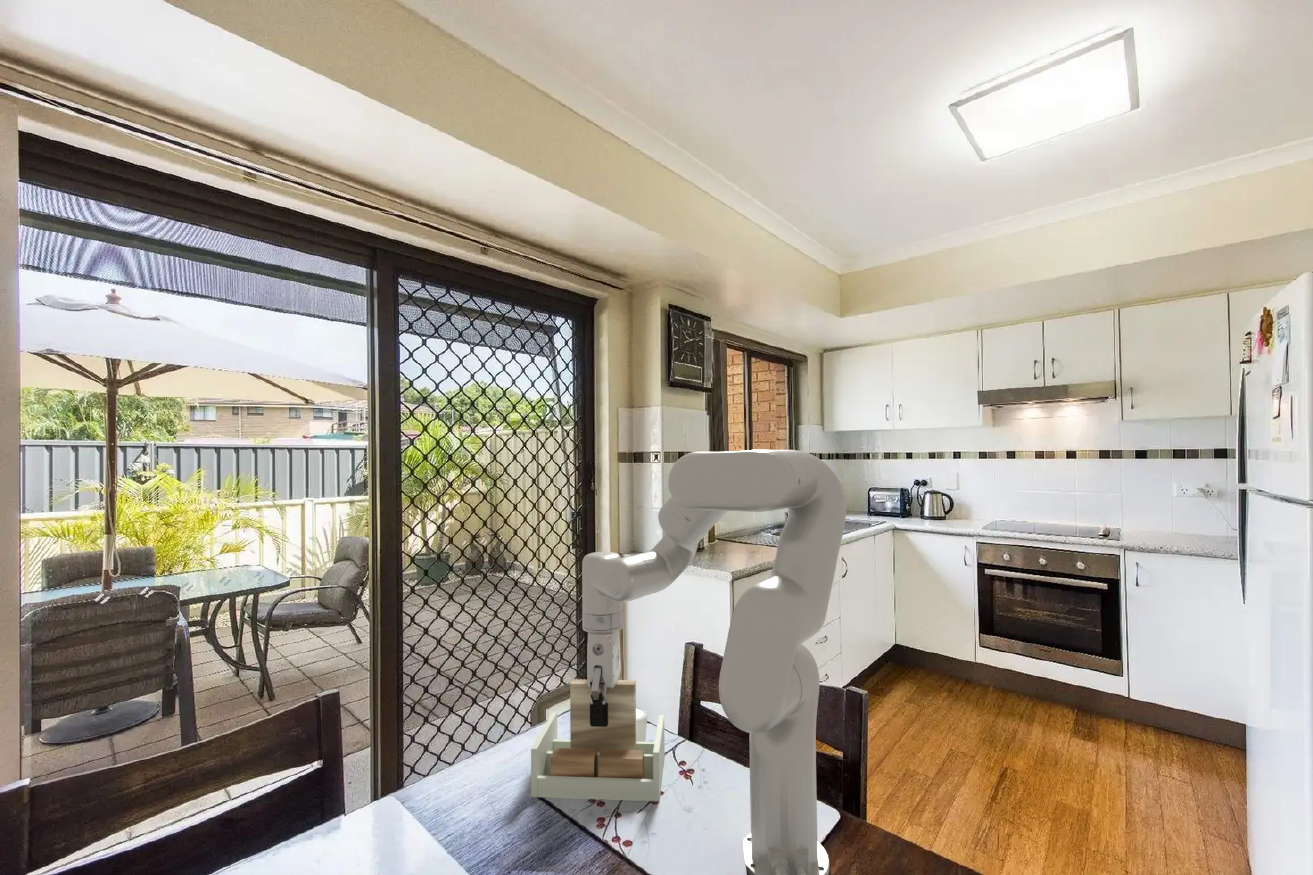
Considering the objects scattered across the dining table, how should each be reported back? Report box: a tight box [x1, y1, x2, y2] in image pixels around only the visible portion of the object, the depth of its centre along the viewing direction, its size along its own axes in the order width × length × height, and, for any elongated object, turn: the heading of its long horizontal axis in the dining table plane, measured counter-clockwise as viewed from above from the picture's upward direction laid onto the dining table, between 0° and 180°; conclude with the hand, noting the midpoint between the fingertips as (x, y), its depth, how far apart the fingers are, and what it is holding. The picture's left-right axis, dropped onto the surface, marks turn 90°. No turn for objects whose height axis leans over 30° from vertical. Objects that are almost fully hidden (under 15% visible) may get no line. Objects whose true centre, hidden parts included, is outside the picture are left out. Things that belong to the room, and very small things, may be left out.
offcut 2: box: [598, 749, 644, 779], centre depth 98 cm, size 3×8×6 cm, turn 86°
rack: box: [530, 711, 666, 802], centre depth 103 cm, size 14×22×10 cm, turn 86°
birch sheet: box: [569, 678, 637, 753], centre depth 105 cm, size 2×12×16 cm, turn 86°
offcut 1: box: [551, 748, 597, 777], centre depth 99 cm, size 3×8×6 cm, turn 86°
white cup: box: [636, 706, 649, 742], centre depth 115 cm, size 7×7×7 cm
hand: (603, 714), depth 105 cm, fingers open, 8 cm apart
